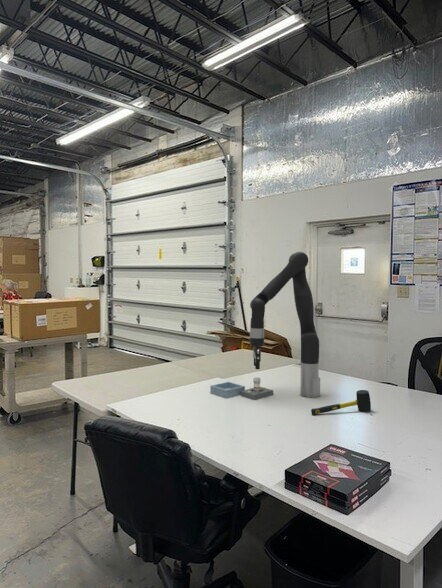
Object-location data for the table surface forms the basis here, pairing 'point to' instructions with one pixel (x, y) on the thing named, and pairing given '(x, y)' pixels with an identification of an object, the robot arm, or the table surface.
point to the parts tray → (227, 389)
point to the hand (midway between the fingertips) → (256, 367)
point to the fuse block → (254, 395)
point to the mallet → (349, 404)
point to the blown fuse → (256, 384)
